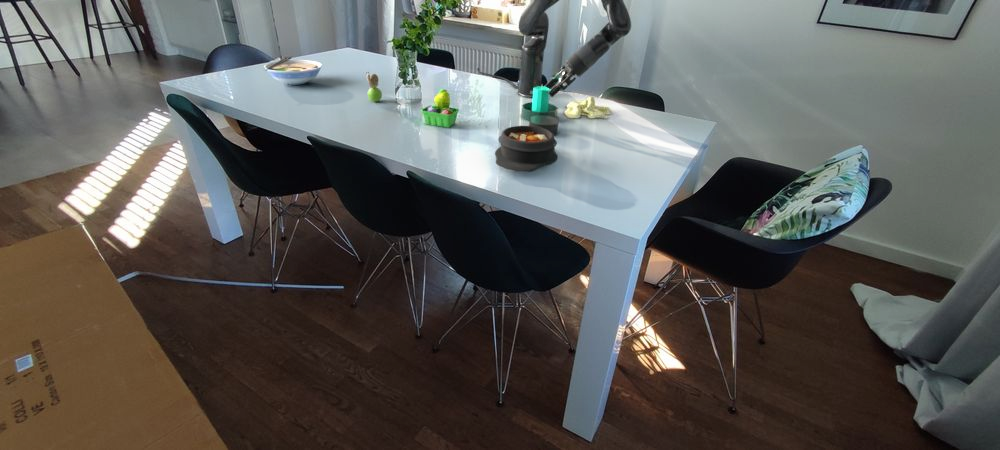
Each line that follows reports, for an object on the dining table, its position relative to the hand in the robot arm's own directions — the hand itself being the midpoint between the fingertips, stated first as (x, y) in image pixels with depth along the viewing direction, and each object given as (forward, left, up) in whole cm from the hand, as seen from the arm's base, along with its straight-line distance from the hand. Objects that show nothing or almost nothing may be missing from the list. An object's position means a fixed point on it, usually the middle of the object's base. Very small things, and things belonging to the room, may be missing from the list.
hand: (547, 91), depth 174 cm
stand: (+13, -10, -9) cm, 19 cm away
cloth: (+1, +19, -10) cm, 21 cm away
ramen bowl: (-81, -74, -10) cm, 110 cm away
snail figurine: (-42, -52, -10) cm, 68 cm away
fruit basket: (-8, -39, -10) cm, 41 cm away
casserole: (+33, -30, -10) cm, 46 cm away
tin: (-1, -2, -9) cm, 10 cm away
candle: (-1, -2, -9) cm, 10 cm away
